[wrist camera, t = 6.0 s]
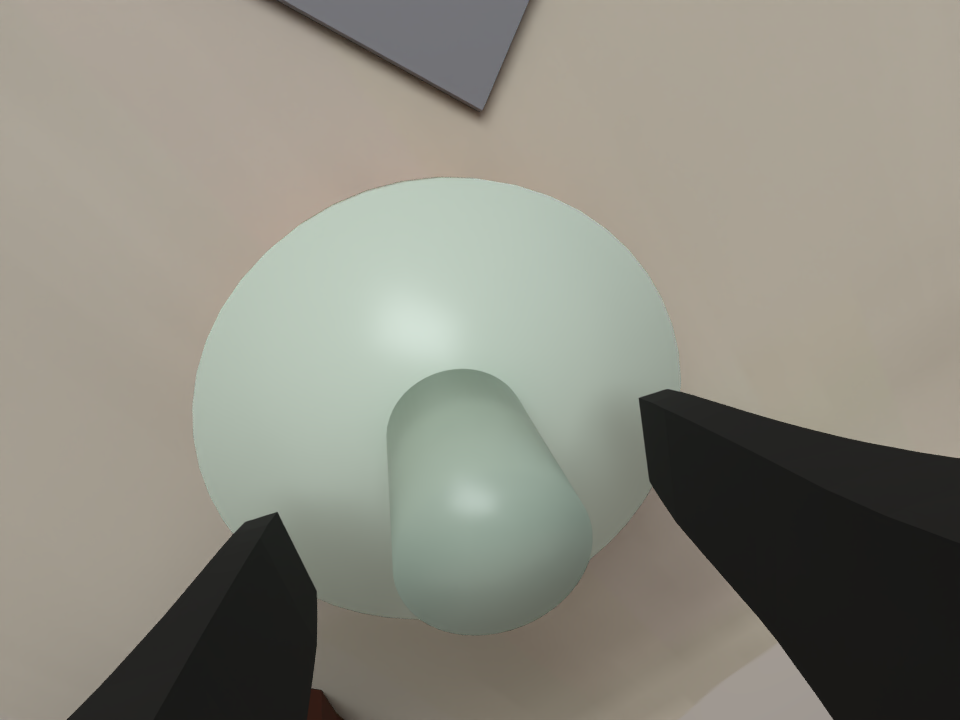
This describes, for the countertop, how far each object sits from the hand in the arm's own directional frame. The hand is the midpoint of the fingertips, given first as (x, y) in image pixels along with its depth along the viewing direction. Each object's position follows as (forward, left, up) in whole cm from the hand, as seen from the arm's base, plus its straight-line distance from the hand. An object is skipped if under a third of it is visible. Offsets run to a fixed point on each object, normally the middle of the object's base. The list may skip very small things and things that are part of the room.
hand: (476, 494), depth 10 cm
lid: (0, 0, -3) cm, 3 cm away
